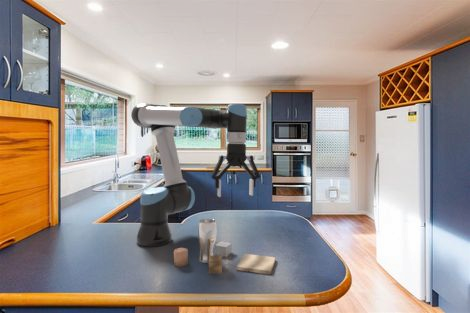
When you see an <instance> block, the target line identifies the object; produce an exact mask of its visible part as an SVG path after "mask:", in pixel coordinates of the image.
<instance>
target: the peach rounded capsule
mask: <svg viewBox="0 0 470 313" xmlns="http://www.w3.org/2000/svg"><path fill="white" fill-rule="evenodd" d="M188 253H189V250H188V248H185V247H179V248H175V249H174V250H173V266H175V267H185V266H187V265H188V264H189V261H188V260H189V258H188V257H189V256H188V255H189V254H188Z"/></svg>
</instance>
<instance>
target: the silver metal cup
mask: <svg viewBox="0 0 470 313" xmlns="http://www.w3.org/2000/svg"><path fill="white" fill-rule="evenodd" d="M197 226H198V227H197V237H198V238H197V239H198V242H199V243H198V244H199V250H200V252H199V259H198V261H199V262H200V263H203V264H209V256H216V255H215V245H216V240H217V233H218V232H217V220H216V219H214V218H202V219H199V220H198V224H197Z"/></svg>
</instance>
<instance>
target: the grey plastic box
mask: <svg viewBox="0 0 470 313" xmlns="http://www.w3.org/2000/svg"><path fill="white" fill-rule="evenodd" d="M232 245H233V243H232V242H227V241H222V240H221V241H219V242H218V243H215V247H214V255H215V256H216V255H222V257H223V256H225V257H224V258H227V257H228V256H230V253H231V254H232V251H233V250H232V249H233V246H232ZM226 256H227V257H226Z"/></svg>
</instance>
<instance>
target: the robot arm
mask: <svg viewBox="0 0 470 313" xmlns="http://www.w3.org/2000/svg"><path fill="white" fill-rule="evenodd" d="M247 110H248V109H247V105H245V104H243V103H229V104H228V105H227V109H212V108H211V109H210V108H202V107H196V106H184V107H183V106H181V107H180V106H177V107H176V106H175V107H174V106H168V105H164V104H163V105H162V104H153V103H145V102H144V103H143V102H142V103H139V104H136V105H134V107H133V108H132V109H131V116H130V117H131V120H132V122H133V123H134V124H135V125H137V126H138V127H141V128H145V129H150V132H151V134H152V135H153V136H154V137H155V140H156V144H157V149H158V154H159V159H160V163H161V164H160V165H161V169H162V173H163V178H164V185H163V186H157V187H151V188H147V189H145V190H142V192H141V194H140V201H139V203H140V227H139V229H138V233H137V235H136V244H137V245H139V246H141V247H146V248H147V247H149V248H150V247H160V246H165V245H166V244H167V245H168V244H169V243H171V242H172V240H173V239H172V236H173V234H172V233H171V232H172V231H171V229H170V225H169V223H168V222H169V221H168V220H169V218H168V216H169V215H174V214H176V213H183V212H185V211H187V210H190V209H191V208H192V207H193V206H194V204H195V199H196V196H195V191H194V189H193V188H192V187H191V186H188V182H187V180H185V179H184V178H183V174H182V170H181V165H180V164H181V163H180V160H179V159H180V158H179V154H178V149H177V146H176V141H175V136H174V133H175V131H176V128H177V126H178V127H187V128H206V129H214V130H216V129H227V137H226V142H227V145H226V155H222V154H219V155H218V161H217V163H216V164H215V167H214V169H213V171H212V173H211V175H210V178H211V179H213V180H214V187H215V188H216V189H217V193H216V194H217V197H219V198H221V197H222V180H221V179H222V178H223V176H224V174H225V173H226V172H227V171H228V170H230V168H231V167H232V168H233V167H235V168H236V167H238V168H239V167H242V168H243V169H244V171H245V172H246V173H247V174H248V176H249V177H250V178H249V182H248V183H249V185H248V186H249V187H248V189H249V190H248V194H249V196H251V197H253V196H254V188H256V180H257V179H259V178H261V175H260V173H259V170H258V168H257V166H256V163H255V161H254V155H250V154H249V155H247V150H246V149H247V144H245V143H246V142H247V119H248V115H247ZM225 160H226V161H227V162H226V163H225V165H224V166H223V167H222V168H221V166H222V165H223V162H224V161H225ZM246 161H248V163H249V164H250V167H251V169H250V168H249V167H248V164H247V163H246ZM220 168H221V169H220Z"/></svg>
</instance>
